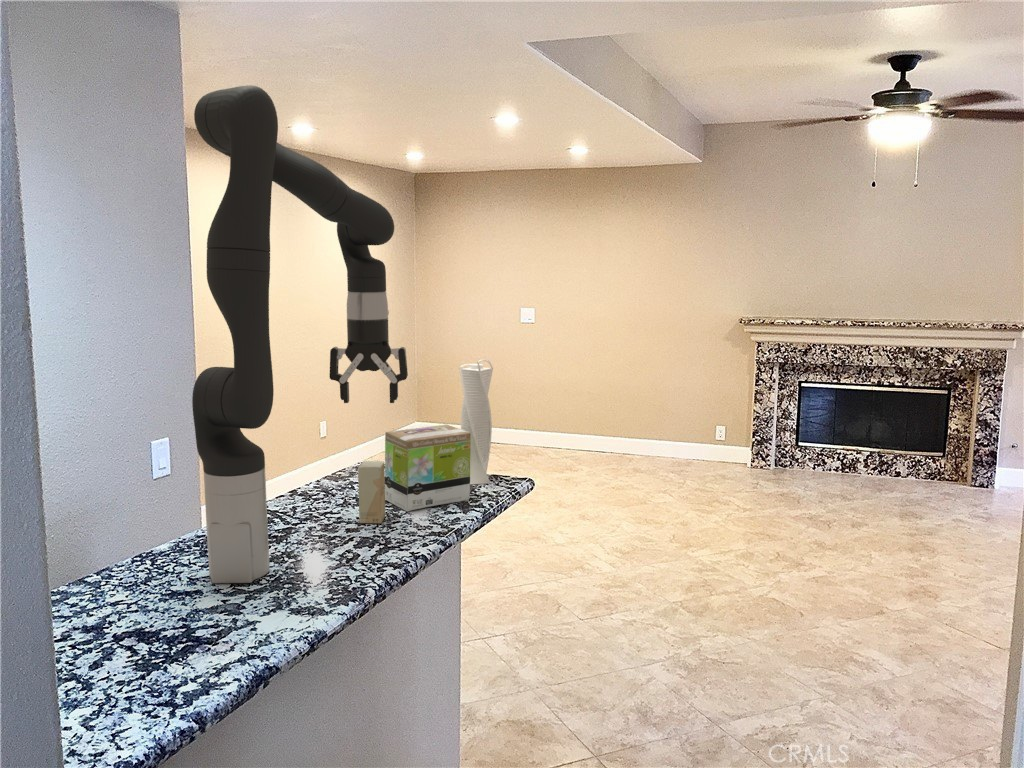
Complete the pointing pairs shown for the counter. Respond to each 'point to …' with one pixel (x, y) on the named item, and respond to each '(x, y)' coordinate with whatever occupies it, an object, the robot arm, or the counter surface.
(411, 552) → the counter surface
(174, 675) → the counter surface
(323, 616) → the counter surface
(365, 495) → the box
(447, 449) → the tea box
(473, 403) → the skyscraper
